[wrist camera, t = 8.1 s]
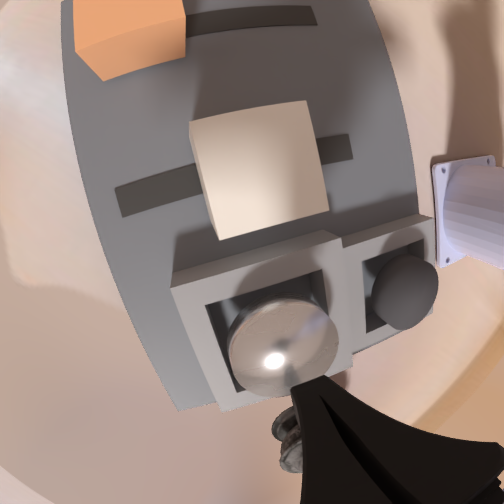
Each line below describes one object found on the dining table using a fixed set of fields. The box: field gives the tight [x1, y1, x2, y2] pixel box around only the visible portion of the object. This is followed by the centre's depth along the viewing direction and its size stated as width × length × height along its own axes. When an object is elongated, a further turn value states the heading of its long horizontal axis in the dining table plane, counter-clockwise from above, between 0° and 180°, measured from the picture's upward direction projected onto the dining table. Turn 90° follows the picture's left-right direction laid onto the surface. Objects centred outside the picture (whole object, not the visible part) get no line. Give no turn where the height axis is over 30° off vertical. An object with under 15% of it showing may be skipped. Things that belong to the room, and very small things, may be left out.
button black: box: [371, 254, 438, 330], centre depth 14 cm, size 4×4×1 cm
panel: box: [61, 0, 435, 412], centre depth 13 cm, size 18×26×4 cm
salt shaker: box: [272, 406, 303, 473], centre depth 15 cm, size 6×6×12 cm
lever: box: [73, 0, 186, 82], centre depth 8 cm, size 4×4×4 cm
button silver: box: [227, 292, 339, 397], centre depth 13 cm, size 5×5×2 cm
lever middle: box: [189, 100, 329, 240], centre depth 11 cm, size 4×4×4 cm
